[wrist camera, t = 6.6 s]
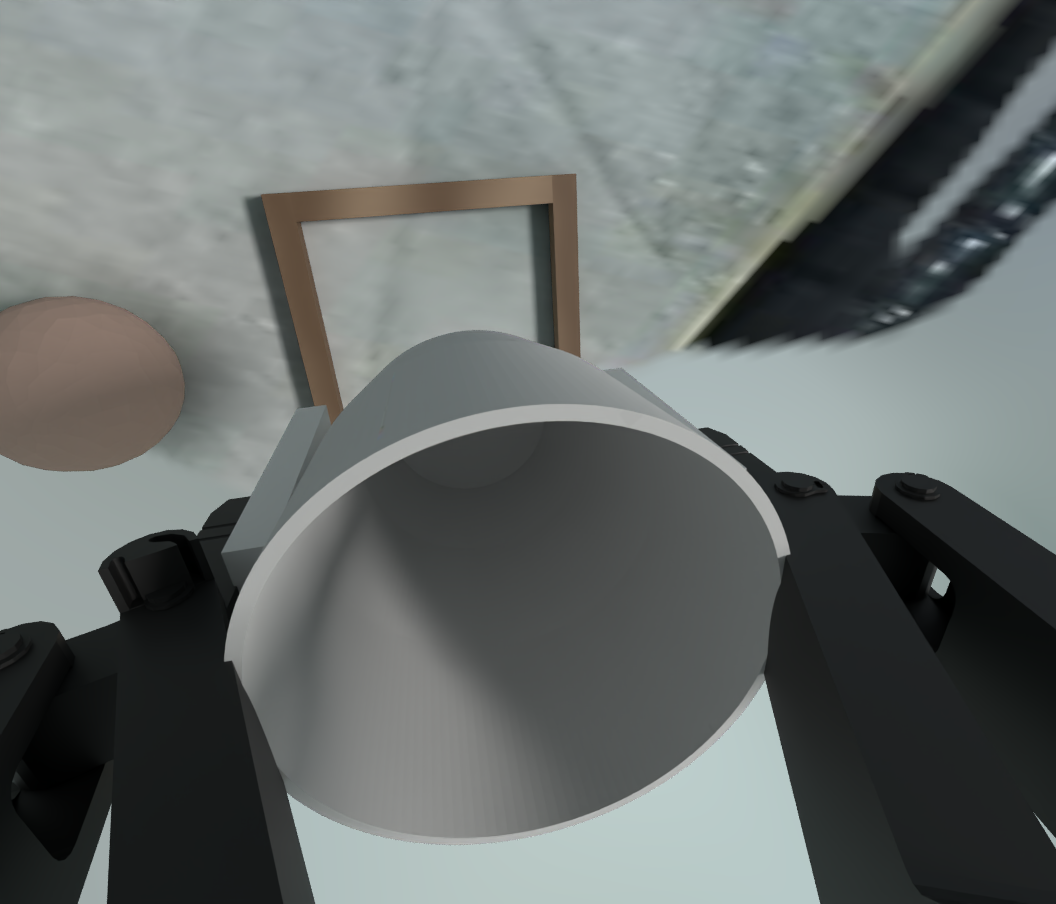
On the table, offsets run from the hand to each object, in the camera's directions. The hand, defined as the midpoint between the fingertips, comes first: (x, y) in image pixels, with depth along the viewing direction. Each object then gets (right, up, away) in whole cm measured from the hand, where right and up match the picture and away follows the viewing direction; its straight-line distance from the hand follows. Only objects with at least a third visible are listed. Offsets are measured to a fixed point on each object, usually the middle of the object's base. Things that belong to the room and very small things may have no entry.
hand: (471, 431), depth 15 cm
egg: (-18, +4, +11) cm, 21 cm away
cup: (0, +1, +1) cm, 1 cm away
